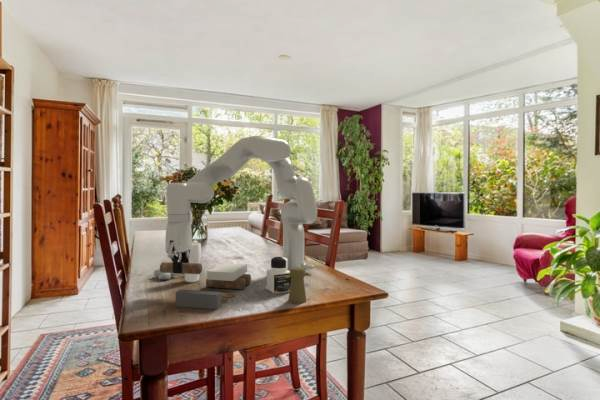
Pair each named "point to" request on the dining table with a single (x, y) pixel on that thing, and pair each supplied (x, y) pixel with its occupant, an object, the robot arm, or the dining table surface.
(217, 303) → the grey rectangular bar
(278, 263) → the medicine bottle
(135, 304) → the dining table surface
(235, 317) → the dining table surface
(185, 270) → the roller
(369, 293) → the dining table surface
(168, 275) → the bunny figurine
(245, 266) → the slab
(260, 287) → the dining table surface
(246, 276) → the track
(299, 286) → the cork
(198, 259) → the white cup
